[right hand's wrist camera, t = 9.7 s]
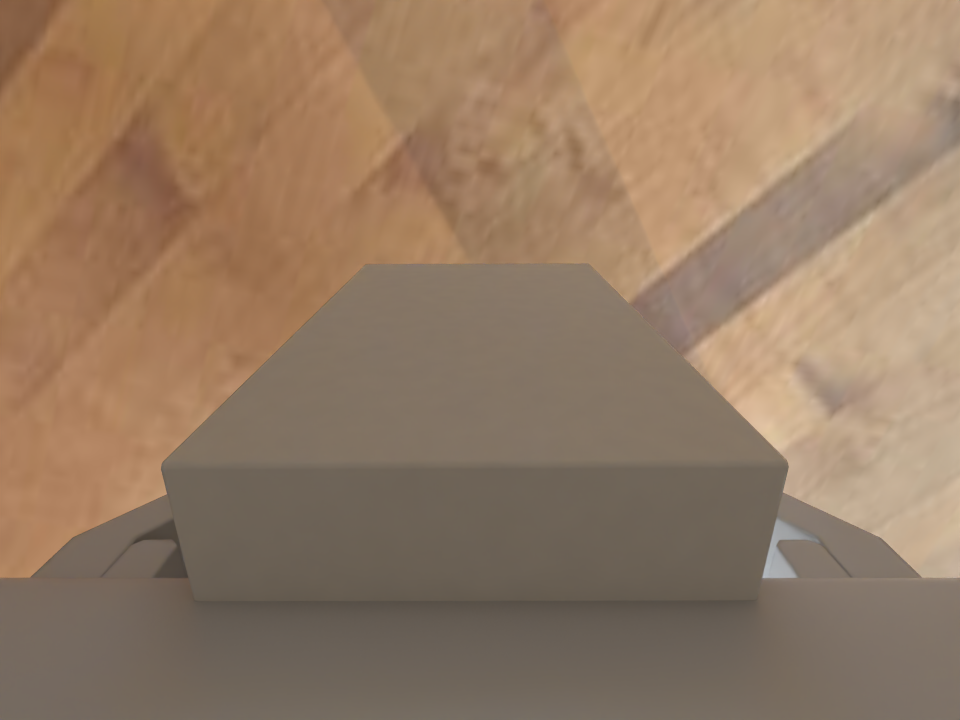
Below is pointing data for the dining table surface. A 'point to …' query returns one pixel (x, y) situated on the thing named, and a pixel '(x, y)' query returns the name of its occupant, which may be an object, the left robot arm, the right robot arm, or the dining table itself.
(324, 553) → the bar
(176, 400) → the dining table surface
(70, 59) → the dining table surface
